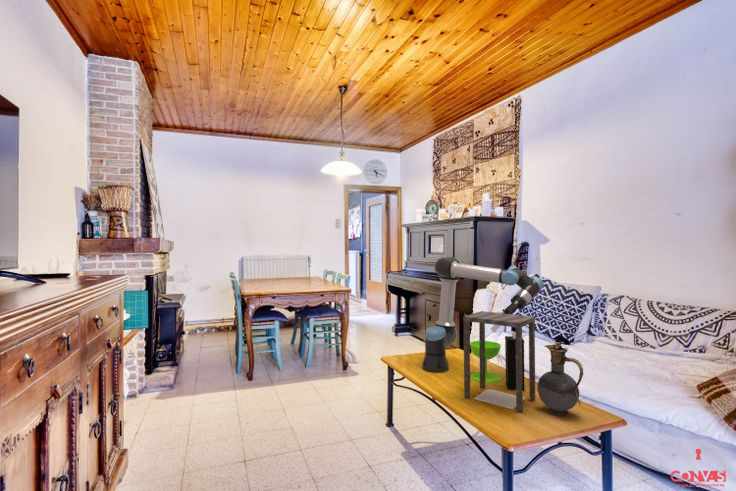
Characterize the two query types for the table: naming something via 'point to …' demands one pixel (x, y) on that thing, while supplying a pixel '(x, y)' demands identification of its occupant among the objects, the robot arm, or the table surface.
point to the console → (518, 322)
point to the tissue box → (512, 361)
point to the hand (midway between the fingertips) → (494, 326)
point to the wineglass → (490, 353)
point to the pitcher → (559, 383)
